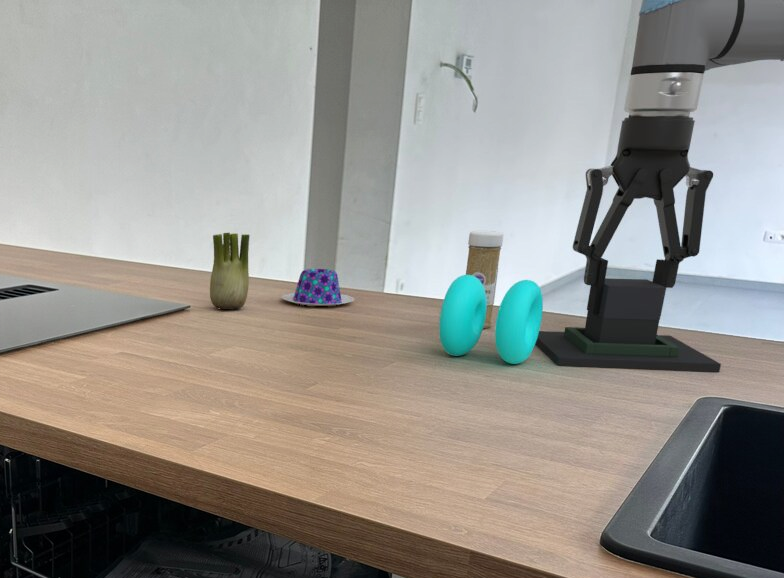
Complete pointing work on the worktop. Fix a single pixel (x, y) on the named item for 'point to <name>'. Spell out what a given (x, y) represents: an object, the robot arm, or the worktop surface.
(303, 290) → the pudding
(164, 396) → the worktop surface
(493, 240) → the sprinkles bottle
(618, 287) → the graphite pad
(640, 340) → the black rectangular block
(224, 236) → the fennel bulb
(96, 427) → the worktop surface
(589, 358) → the base mat
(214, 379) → the worktop surface
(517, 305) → the donuts
